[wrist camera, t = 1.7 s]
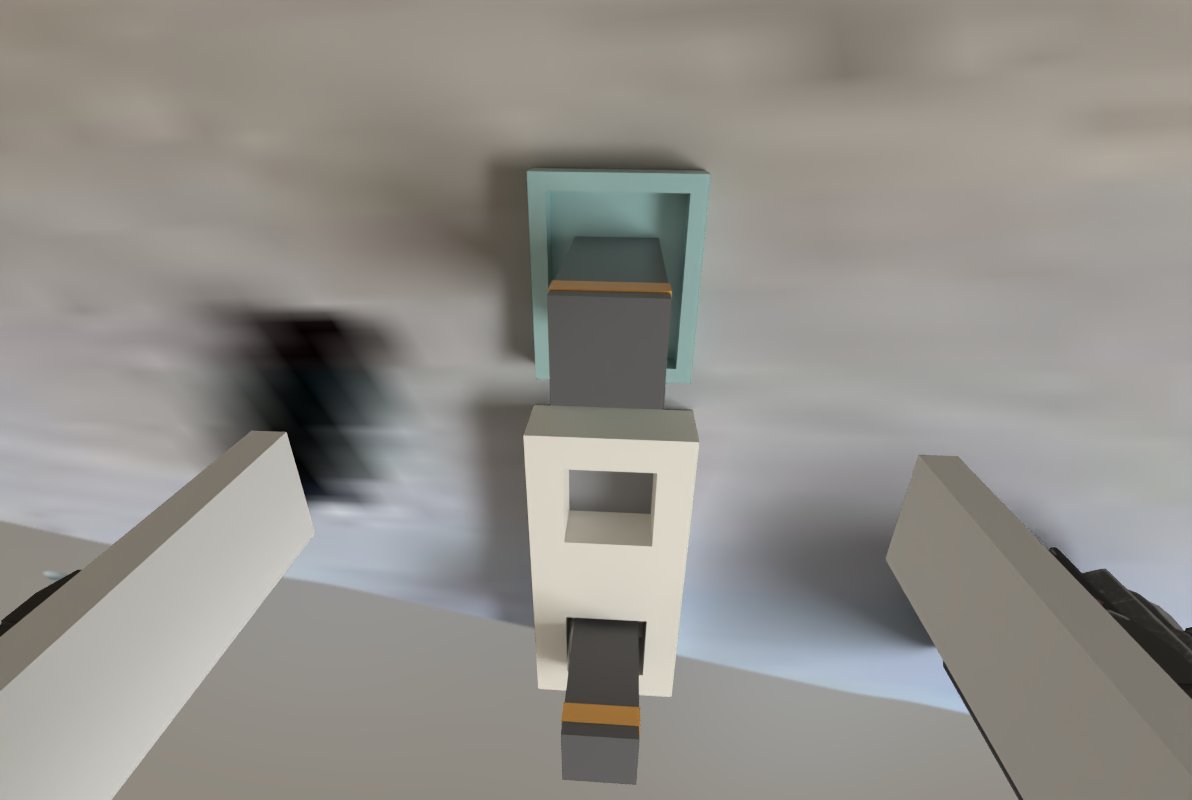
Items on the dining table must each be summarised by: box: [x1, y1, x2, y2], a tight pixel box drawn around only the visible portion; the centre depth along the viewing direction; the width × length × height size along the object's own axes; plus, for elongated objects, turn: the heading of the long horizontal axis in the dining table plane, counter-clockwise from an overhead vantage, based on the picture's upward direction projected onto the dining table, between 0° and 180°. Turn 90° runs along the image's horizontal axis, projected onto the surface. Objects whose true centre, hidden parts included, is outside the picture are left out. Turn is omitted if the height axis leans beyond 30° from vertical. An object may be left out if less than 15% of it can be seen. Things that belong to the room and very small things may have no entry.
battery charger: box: [523, 405, 699, 785], centre depth 31 cm, size 20×9×10 cm, turn 179°
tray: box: [527, 168, 711, 384], centre depth 27 cm, size 10×8×2 cm
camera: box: [943, 547, 1192, 800], centre depth 29 cm, size 10×10×15 cm
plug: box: [547, 236, 672, 410], centre depth 23 cm, size 4×4×10 cm
